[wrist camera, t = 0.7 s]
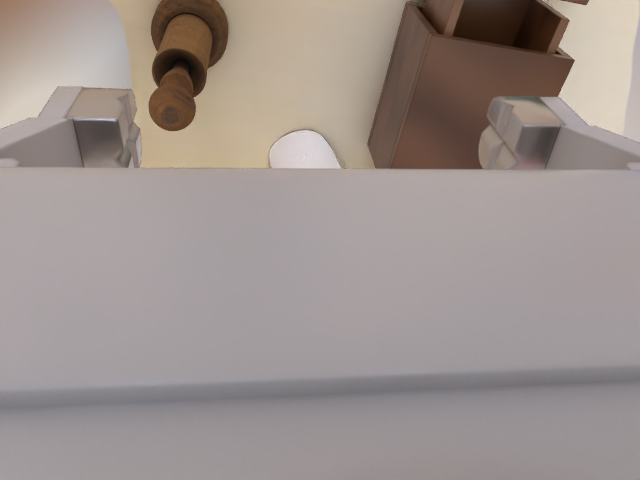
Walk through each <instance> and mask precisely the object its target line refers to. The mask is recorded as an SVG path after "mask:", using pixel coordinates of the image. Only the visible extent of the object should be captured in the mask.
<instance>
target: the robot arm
mask: <svg viewBox="0 0 640 480" xmlns="http://www.w3.org/2000/svg"><path fill="white" fill-rule="evenodd" d="M136 112H137V107H136V101H135V95H134V93H133V90H132V89H112V88H84V87H57V88H56V90H55V91H54V93H53V95H52V96H51V97H50V99H49V100H48V102H47V104H46V105H45V106H44V108H43V110H42V111H41V113H40V114H39V116H38V117H37V118H28V119H25V120H22V121H20V122H18V123H15V124H12V125H10V126H7V127H4V128H2V129H0V480H640V143H639V142H636V141H634V140H631V139H628V138H626V137H623V136H621V135H618V134H615V133H613V132H610V131H607V130H605V129H602V128H599V127H597V126H589V125H588V124H587V123H586V122H585V121H583V120H582V119H581V118H580V117H579V116H578V115H577V114H576V113H575V112H574V111H573V110H572V109H571V108H570V107H569V106H568V105H567V104H566V103H565V102H564V101H563V100H562V99H561V98H559V97H538V96H498V97H495V98H493V100H492V101H491V103H490V105H489V108H488V112H487V115H486V116H487V118H488V120H489V123H490V125H489V126H488V127H487V128H486V129H485V130H484V131H483V132H482V134H481V138H480V142H479V161H480V165H481V166H482V168H483V169H333V168H140V164H141V156H142V144H141V134H140V128H139V127H138V126H137V125H136V124H135V123H134V122H133V121H134V118H135V115H136Z"/></svg>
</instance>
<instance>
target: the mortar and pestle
mask: <svg viewBox="0 0 640 480" xmlns="http://www.w3.org/2000/svg"><path fill="white" fill-rule="evenodd" d="M151 35H152V40H153V43H154V46H155V48H156V50H157V51H158V52H157V54H156V57H155V59H154V62H153V65H152V75H153V78H154V81H155V83H156V85H157V86H158V89H156V90H155V91H154V92H153V94H152V95H151V97H150V100H149V113H150V116H151V118H152V119H153V121H154V122H155V123H156V124H157V125H158V126H159V127H161V128H163V129H165V130H168V131H178V130H182V129H184V128H185V127H187V126H188V125H189V124H190V123H191V122H192V120H193V119H194V116H195V112H196V106H195V102H194V99H193V97H195V96H197V95H198V94H199V93H200V92H201V91H202V90H203V88H204V86H205V83H206V77H207V70H208V68H210V67H212V66H213V65H214V64H216V63H217V62H218V61H219V60H220V58H221V57H222V55H223V53H224V51H225V49H226V45H227V39H228V23H227V18H226V15H225V13H224V11H223V9H222V8H221V6H220V5H219V3H218V2H217V1H216V0H162V1H161V3H160V4H159V6H158V7H157V10H156V12H155V14H154V17H153V20H152V25H151Z"/></svg>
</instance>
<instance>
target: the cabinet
mask: <svg viewBox="0 0 640 480" xmlns="http://www.w3.org/2000/svg"><path fill="white" fill-rule="evenodd" d="M423 7H424V5H419V4H414V3H408V2H406V5H405V9H404V12H403V16H402V20H401V23H400V27H399V30H398V34H397V38H396V41H395V45H394V49H393V52H392V56H391V60H390V63H389V67H388V71H387V74H386V78H385V82H384V85H383V89H382V93H381V96H380V100H379V104H378V107H377V111H376V114H375V118H374V122H373V125H372V129H371V133H370V136H369V140H368V147H369V150H370V153H371V156H372V159H373V162H374V165H375V168H376V169H483V168H482V166H481V165H480V161H479V142H480V138H481V134H482V132H483V131H484V130H485V129H486V128H487V127H488V126H489V125H490V123H489V120H488V118H487V116H486V115H487V112H488V108H489V105H490V103H491V101H492V100H493V98H495V97H498V96H538V97H558V95H559V93H560V90H561V88H562V86H563V84H564V82H565V80H566V78H567V76H568V74H569V72H570V69H571V67H572V65H573V63H574V61H575V60H574V59H573V58H571V57H570V56H569V55H568V54H567V53H565V52H564V51H563V50H562V49H560V48H559V47H558V48H557V50H556V52H555V54H551V53H546V52H540V51H534V50H528V49H523V48H517V47H511V46H505V45H499V44H494V43H488V42H482V41H476V40H470V39H465V38H459V37H453V36H447V35H442V34H438V33H437V32H436V30H435V29H434V28H433V27H432V25H431V24H430V23H429V22H428V20H427V19H426V18H425V17H424V15H423V14H422V10H423Z"/></svg>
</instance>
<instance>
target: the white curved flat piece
mask: <svg viewBox="0 0 640 480" xmlns="http://www.w3.org/2000/svg"><path fill="white" fill-rule="evenodd" d="M269 161H270V165H271V168H333V169H342V168H341V167H340V164H339V162H338V160H337V158H336V156H335V154H334V152H333V151H332V149H331V147H330V146H329V144H328V143H327V141H326V140H325V139H324V138H323V137H322V136H321V135H320V134H318V133H317V132H314V131H308V130H301V131H295V132H292V133H289V134H287V135H285V136H283V137H282V138H280V139H279V140H277V142H275V143H274V144H273V146H272V147H271V149H270V153H269Z"/></svg>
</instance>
